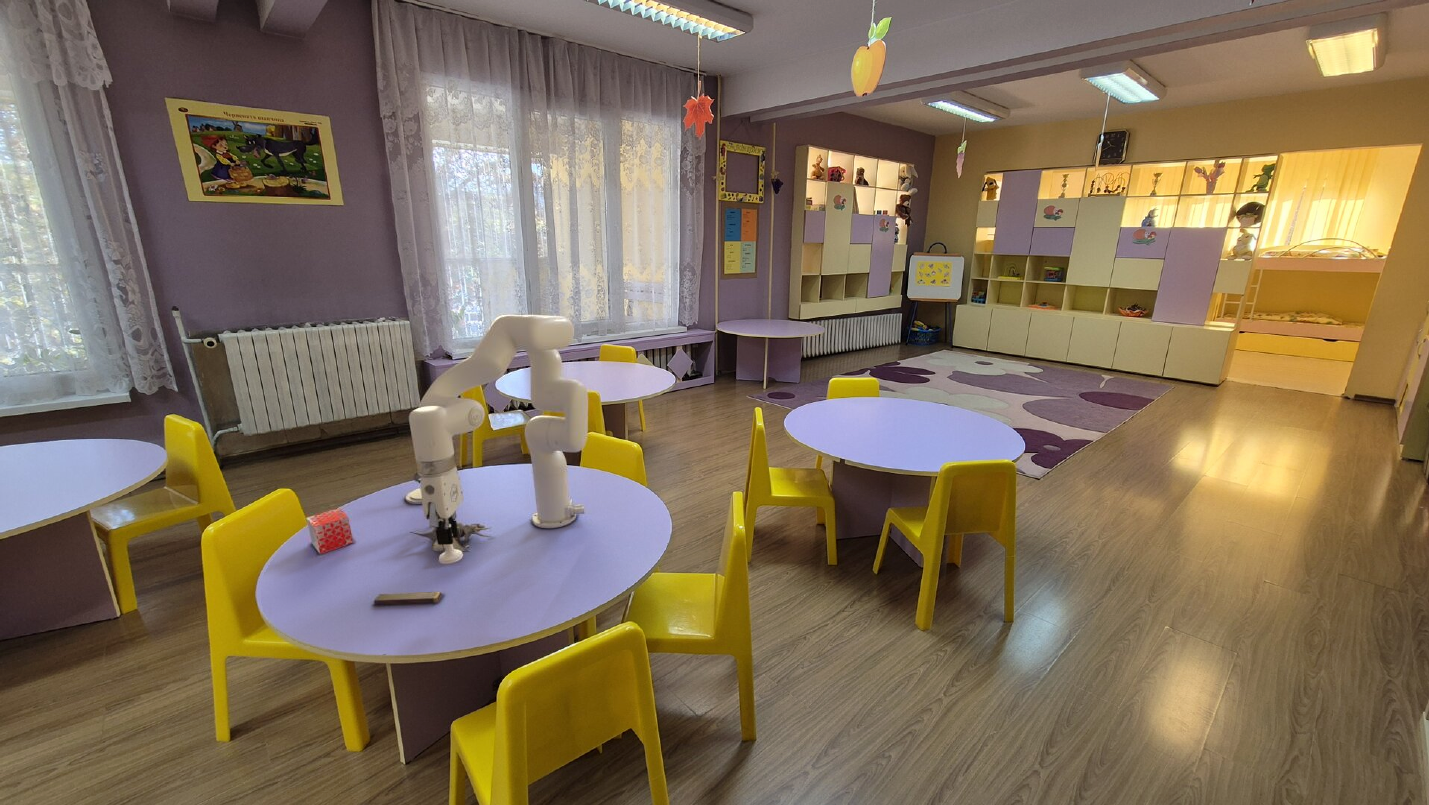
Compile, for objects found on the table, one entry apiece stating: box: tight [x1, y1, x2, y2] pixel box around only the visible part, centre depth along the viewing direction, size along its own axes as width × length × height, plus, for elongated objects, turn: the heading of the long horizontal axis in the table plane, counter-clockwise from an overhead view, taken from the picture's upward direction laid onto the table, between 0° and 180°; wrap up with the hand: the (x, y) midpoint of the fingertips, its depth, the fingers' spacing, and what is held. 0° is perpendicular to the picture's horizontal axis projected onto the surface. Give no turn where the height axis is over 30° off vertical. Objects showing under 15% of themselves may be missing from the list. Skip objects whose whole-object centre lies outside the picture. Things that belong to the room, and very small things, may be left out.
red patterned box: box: [306, 507, 355, 555], centre depth 155 cm, size 8×8×8 cm
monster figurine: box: [405, 471, 422, 505], centre depth 183 cm, size 12×12×10 cm
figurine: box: [409, 519, 492, 553], centre depth 153 cm, size 20×6×17 cm
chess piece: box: [438, 520, 464, 565], centre depth 127 cm, size 5×5×10 cm
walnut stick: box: [373, 590, 443, 606], centre depth 130 cm, size 14×3×1 cm, turn 93°
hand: (448, 539), depth 127 cm, fingers closed on chess piece
